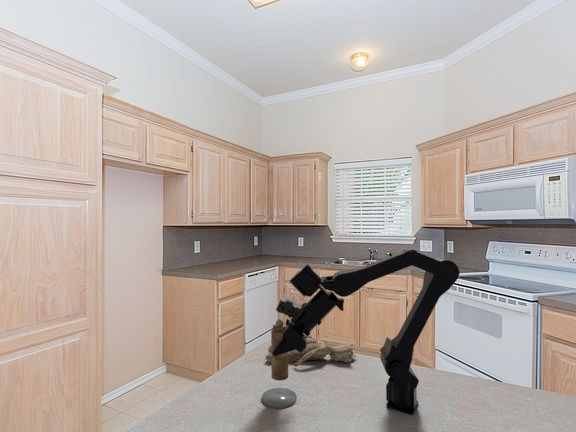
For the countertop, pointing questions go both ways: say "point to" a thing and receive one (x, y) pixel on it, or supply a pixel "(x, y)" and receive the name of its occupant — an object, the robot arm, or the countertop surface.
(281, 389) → the coaster
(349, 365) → the countertop surface
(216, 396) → the countertop surface
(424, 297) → the robot arm
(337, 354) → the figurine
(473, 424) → the countertop surface
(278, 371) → the pepper mill
